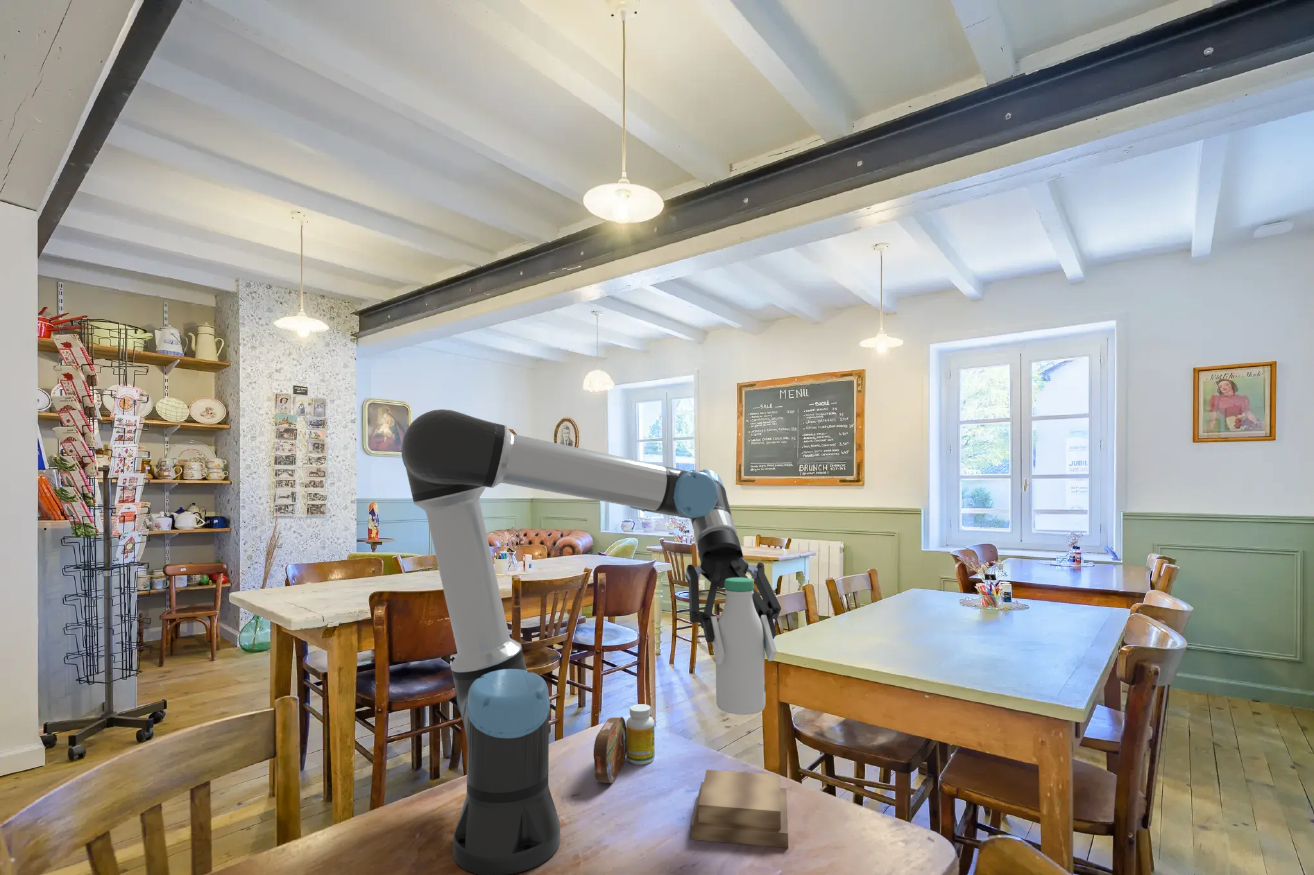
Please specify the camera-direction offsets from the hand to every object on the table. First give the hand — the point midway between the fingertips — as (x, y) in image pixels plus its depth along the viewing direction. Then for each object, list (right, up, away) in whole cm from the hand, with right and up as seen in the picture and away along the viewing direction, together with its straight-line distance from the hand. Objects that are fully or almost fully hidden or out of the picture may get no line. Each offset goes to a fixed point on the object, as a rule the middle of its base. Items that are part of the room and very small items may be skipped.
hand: (746, 657), depth 100 cm
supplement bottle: (-17, -27, +24) cm, 40 cm away
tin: (-22, -27, +18) cm, 40 cm away
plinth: (-1, -26, +2) cm, 26 cm away
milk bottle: (-1, -9, +3) cm, 9 cm away
